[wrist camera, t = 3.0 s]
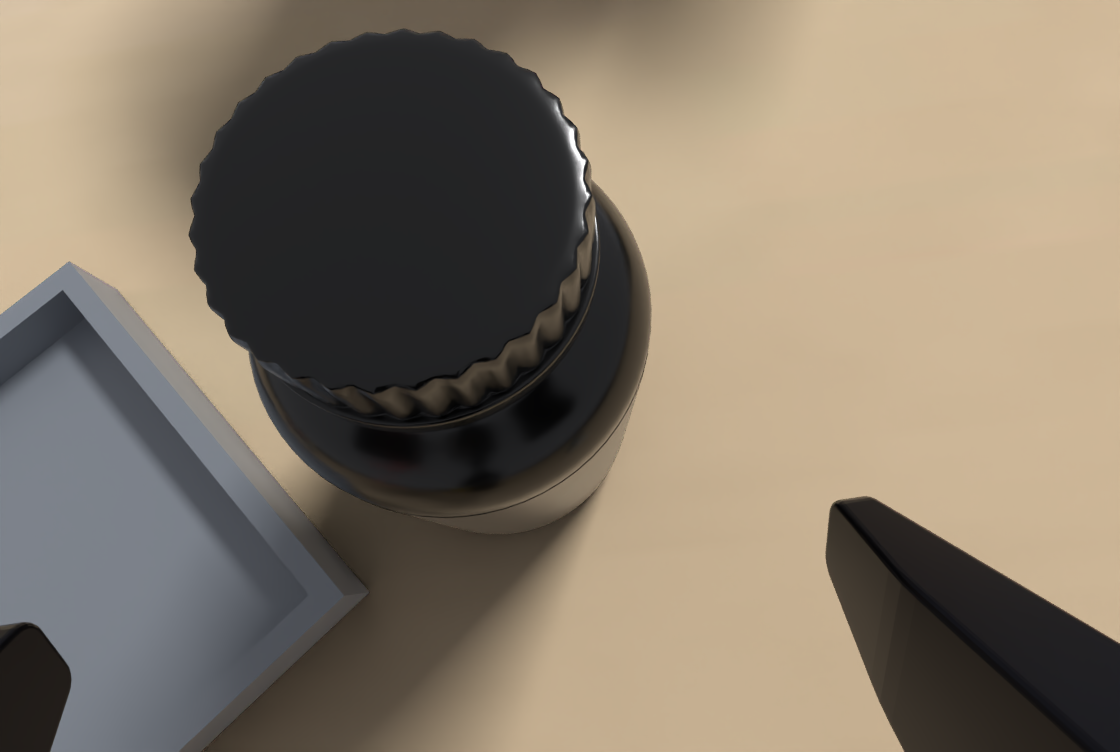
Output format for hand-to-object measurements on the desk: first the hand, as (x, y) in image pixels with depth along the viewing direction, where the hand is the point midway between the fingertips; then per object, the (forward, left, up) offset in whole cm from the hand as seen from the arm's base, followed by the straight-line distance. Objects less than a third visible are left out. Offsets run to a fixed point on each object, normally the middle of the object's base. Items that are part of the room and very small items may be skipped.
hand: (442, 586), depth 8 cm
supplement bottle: (+3, +4, -11) cm, 12 cm away
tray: (-9, +9, -11) cm, 17 cm away
